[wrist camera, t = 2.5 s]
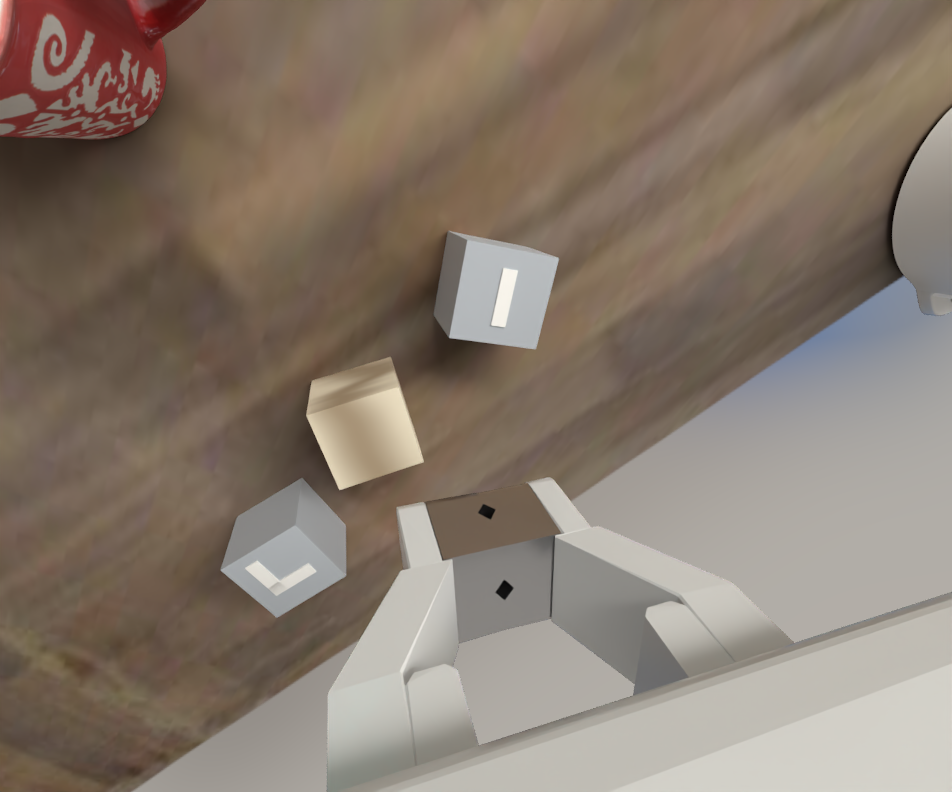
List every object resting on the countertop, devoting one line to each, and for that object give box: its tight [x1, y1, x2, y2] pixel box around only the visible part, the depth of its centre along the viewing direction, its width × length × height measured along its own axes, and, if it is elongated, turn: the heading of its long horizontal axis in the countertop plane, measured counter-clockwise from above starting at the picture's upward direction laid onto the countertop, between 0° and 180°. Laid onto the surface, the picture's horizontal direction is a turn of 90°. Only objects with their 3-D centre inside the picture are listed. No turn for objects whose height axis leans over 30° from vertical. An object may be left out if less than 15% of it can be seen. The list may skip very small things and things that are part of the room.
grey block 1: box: [221, 478, 346, 617], centre depth 31 cm, size 5×5×5 cm
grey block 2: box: [433, 231, 559, 349], centre depth 27 cm, size 5×5×5 cm
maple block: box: [306, 357, 424, 490], centre depth 28 cm, size 5×5×5 cm
